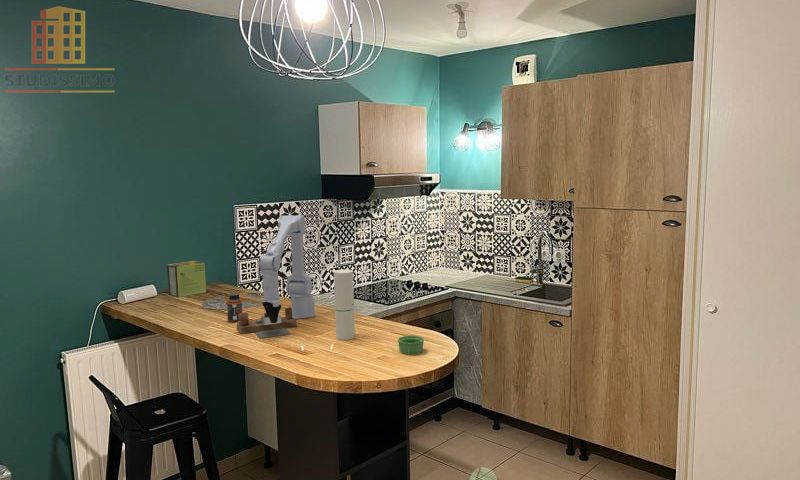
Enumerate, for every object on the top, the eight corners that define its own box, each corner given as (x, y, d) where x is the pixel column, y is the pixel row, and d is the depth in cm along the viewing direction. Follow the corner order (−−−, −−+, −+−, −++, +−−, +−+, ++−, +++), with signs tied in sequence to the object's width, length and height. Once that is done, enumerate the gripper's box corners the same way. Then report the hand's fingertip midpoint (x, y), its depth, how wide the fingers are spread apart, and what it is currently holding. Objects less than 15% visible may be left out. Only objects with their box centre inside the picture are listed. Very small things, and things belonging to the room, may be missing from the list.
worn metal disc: (185, 305, 287) (185, 304, 287) (243, 291, 315) (243, 290, 315) (232, 314, 268) (232, 313, 268) (290, 298, 296) (290, 297, 296)
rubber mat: (285, 329, 242) (285, 328, 241) (291, 334, 234) (291, 333, 234) (255, 333, 236) (254, 332, 236) (259, 338, 229) (259, 337, 229)
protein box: (206, 292, 313) (205, 262, 311) (178, 297, 302) (176, 266, 300) (196, 289, 320) (194, 260, 318) (168, 294, 309) (166, 264, 307)
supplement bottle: (238, 322, 253) (237, 295, 251) (225, 322, 254) (223, 295, 252) (245, 319, 258) (243, 292, 257) (232, 318, 260) (230, 292, 258)
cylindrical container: (357, 335, 232) (356, 270, 228) (350, 340, 225) (348, 273, 222) (340, 333, 234) (338, 269, 231) (332, 338, 227) (330, 272, 224)
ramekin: (392, 351, 212) (392, 339, 211) (410, 345, 218) (410, 333, 217) (411, 357, 205) (411, 344, 205) (429, 351, 211) (429, 338, 211)
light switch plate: (278, 320, 238) (277, 310, 237) (281, 322, 234) (280, 313, 234) (261, 322, 235) (261, 312, 235) (264, 325, 231) (264, 315, 231)
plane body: (291, 322, 252) (290, 305, 251) (296, 326, 245) (296, 309, 244) (237, 329, 243) (236, 312, 242) (241, 334, 236) (240, 316, 235)
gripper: (255, 284, 238) (257, 318, 239) (264, 291, 225) (266, 327, 226) (273, 282, 241) (275, 316, 242) (283, 289, 228) (285, 324, 230)
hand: (272, 321), depth 235 cm, fingers closed on light switch plate, 4 cm apart
